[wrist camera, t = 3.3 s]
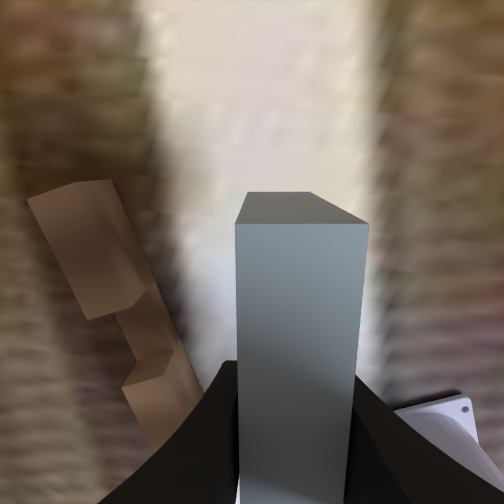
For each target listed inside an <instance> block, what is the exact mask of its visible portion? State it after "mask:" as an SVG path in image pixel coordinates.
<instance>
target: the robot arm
mask: <svg viewBox="0 0 504 504" xmlns="http://www.w3.org/2000/svg"><path fill="white" fill-rule="evenodd" d="M463 407H464V408H463ZM238 480H239V418H238V364H237V361H228V360H226V361H225V362H224V363H222V366H221V368H220V369H219V371H218V373H217V375H216V377H215V378H214V380H213V381H212V383H211V385H210V386H209V388H208V389H207V391H206V392H205V394H204V395H203V396H202V398H201V399H200V401H199V402H198V404H197V405H196V406H195V408H194V409H193V410H192V411H191V413H190V414H189V415H188V416H187V418H186V419H185V420H184V421H183V423H182V424H181V425H180V426H179V428H178V429H177V430H176V431H175V432H174V433H173V434H172V436H171V437H170V438H169V439H168V440H167V441H166V442H165V443H164V444H163V445H162V446H161V447H160V448H159V449H158V450H157V451H156V452H155V453H154V454H153V455H152V456H151V457H150V458H149V459H148V460H147V461H146V462H145V463H144V464H143V465H142V466H141V467H140V468H139V469H138V470H137V471H136V472H134V473H133V474H132V475H131V476H130V477H129V478H128V479H127V480H125V481H124V482H123V483H122V484H121V485H119V486H118V487H117V488H116V489H115V490H113V491H112V492H111V493H110V494H108V495H107V496H106V497H105V498H104V499H102V500H101V501H100V502H99V503H97V504H235V502H236V494H237V487H238ZM343 504H504V476H503V475H502V474H501V472H500V471H499V470H498V469H497V467H496V466H495V465H494V463H493V462H492V461H491V460H490V458H489V457H488V456H487V455H486V453H485V452H484V451H483V449H482V448H481V447H480V446H479V443H478V437H477V432H476V426H475V421H474V415H473V410H472V404H471V400H470V399H469V398H468V397H467V396H466V395H464V394H460V395H455V396H451V397H447V398H443V399H439V400H435V401H431V402H427V403H423V404H419V405H415V406H411V407H407V408H403V409H399V410H395V411H392V410H391V409H390V408H389V407H388V406H387V405H386V404H385V403H384V402H383V401H382V400H381V399H380V398H379V397H377V396H376V395H375V394H374V393H373V392H372V391H371V390H370V389H369V388H368V387H367V386H366V385H365V384H364V383H363V382H362V381H361V380H360V379H359V378H358V377H357V375H356V374H355V381H354V392H353V402H352V413H351V423H350V434H349V445H348V455H347V466H346V476H345V487H344V497H343Z"/></svg>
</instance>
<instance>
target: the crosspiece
mask: <svg viewBox="0 0 504 504" xmlns="http://www.w3.org/2000/svg"><path fill="white" fill-rule="evenodd" d="M368 233H369V223H367V222H365V221H363V220H361V219H359V218H357V217H356V216H354V215H352V214H350V213H348V212H346V211H344V210H342V209H341V208H339V207H337V206H335V205H333V204H331V203H329V202H328V201H326V200H324V199H322V198H320V197H318V196H316V195H315V194H313V193H311V192H248V193H247V195H246V198H245V200H244V203H243V205H242V208H241V210H240V213H239V215H238V218H237V220H236V223H235V254H236V309H237V364H238V418H239V473H240V504H343V497H344V487H345V476H346V466H347V455H348V445H349V434H350V423H351V413H352V402H353V392H354V381H355V370H356V360H357V349H358V339H359V328H360V317H361V307H362V296H363V286H364V275H365V264H366V254H367V243H368Z"/></svg>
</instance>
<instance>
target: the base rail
mask: <svg viewBox="0 0 504 504" xmlns="http://www.w3.org/2000/svg"><path fill="white" fill-rule="evenodd" d="M26 200H27V202H28V204H29V206H30V208H31V210H32V212H33V214H34V216H35V218H36V220H37V222H38V224H39V226H40V228H41V230H42V232H43V234H44V236H45V238H46V240H47V242H48V244H49V246H50V248H51V250H52V252H53V254H54V255H55V257H56V259H57V261H58V263H59V265H60V267H61V269H62V271H63V273H64V275H65V277H66V279H67V281H68V283H69V285H70V287H71V289H72V291H73V293H74V295H75V297H76V299H77V301H78V303H79V305H80V307H81V309H82V311H83V313H84V315H85V317H86V319H87V321H88V320H91V319H94V318H98V317H101V316H104V315H108V314H111V313H114V314H115V316H116V318H117V320H118V322H119V325H120V327H121V329H122V331H123V333H124V335H125V337H126V339H127V341H128V343H129V346H130V348H131V350H132V352H133V354H134V356H135V358H136V360H137V362H136V364H135V366H134V367H133V369H132V371H131V372H130V374H129V375H128V377H127V379H126V380H125V382H124V383H123V385H122V387H121V389H122V391H123V393H124V394H125V396H126V398H127V400H128V402H129V404H130V406H131V408H132V410H133V412H134V414H135V416H136V418H137V420H138V422H139V424H140V426H141V428H142V430H143V432H144V434H145V436H146V438H147V440H148V442H149V444H150V446H151V448H152V450H153V452H154V453H155V452H156V451H157V450H158V449H159V448H160V447H161V446H162V445H163V444H164V443H165V442H166V441H167V440H168V439H169V438H170V437H171V436H172V434H173V433H174V432H175V431H176V430H177V429H178V428H179V426H180V425H181V424H182V423H183V421H184V420H185V419H186V418H187V416H188V415H189V414H190V413H191V411H192V410H193V409H194V408H195V406H196V405H197V404H198V402H199V401H200V399H201V398H202V396H203V395H204V393H203V391H202V389H201V386H200V384H199V382H198V379H197V377H196V375H195V372H194V370H193V368H192V365H191V363H190V361H189V358H188V356H187V354H186V351H185V349H184V347H183V344H182V342H181V340H180V337H179V335H178V333H177V330H176V328H175V326H174V323H173V321H172V319H171V316H170V314H169V312H168V309H167V307H166V305H165V302H164V300H163V298H162V295H161V293H160V291H159V288H158V286H157V284H156V282H155V279H154V277H153V275H152V272H151V270H150V268H149V265H148V263H147V261H146V258H145V256H144V254H143V251H142V249H141V247H140V244H139V242H138V240H137V237H136V235H135V233H134V230H133V228H132V226H131V223H130V221H129V219H128V216H127V214H126V212H125V209H124V207H123V205H122V202H121V200H120V198H119V195H118V193H117V191H116V188H115V186H114V184H113V181H112V179H104V180H93V181H82V182H73V183H70V184H68V185H65V186H62V187H59V188H56V189H54V190H51V191H48V192H45V193H42V194H40V195H37V196H34V197H31V198H28V199H26Z"/></svg>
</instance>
